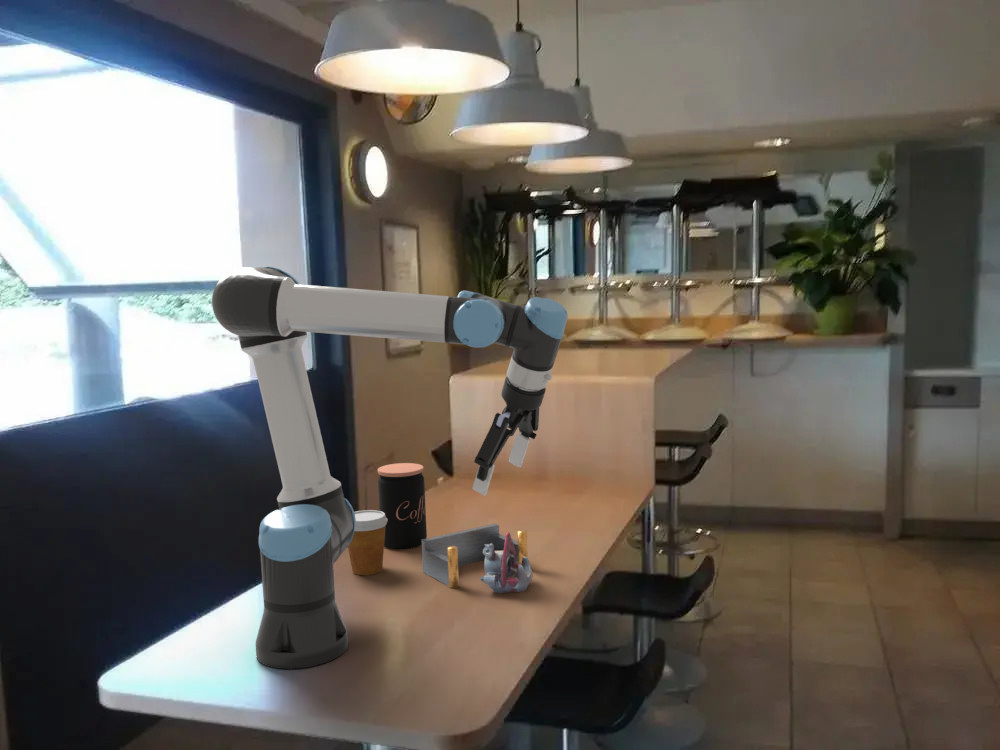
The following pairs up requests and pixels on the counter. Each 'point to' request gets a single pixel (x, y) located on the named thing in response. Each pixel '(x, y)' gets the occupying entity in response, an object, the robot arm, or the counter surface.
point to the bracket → (464, 551)
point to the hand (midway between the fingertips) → (497, 477)
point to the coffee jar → (403, 504)
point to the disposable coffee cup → (368, 542)
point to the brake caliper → (505, 569)
